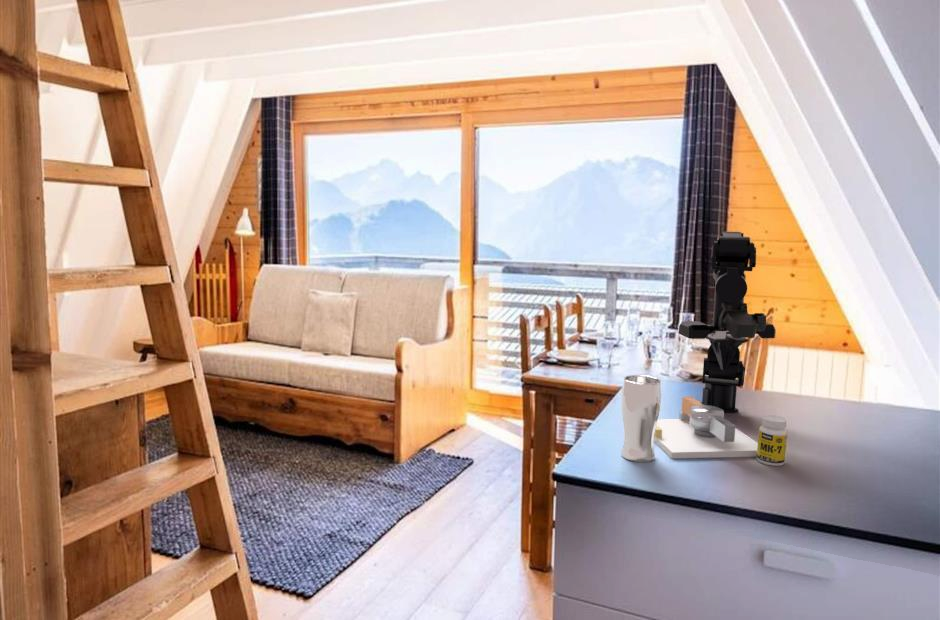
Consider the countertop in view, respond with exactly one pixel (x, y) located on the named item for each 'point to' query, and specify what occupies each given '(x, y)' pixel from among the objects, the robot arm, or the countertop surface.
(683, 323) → the robot arm
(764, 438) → the supplement bottle
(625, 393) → the beer glass
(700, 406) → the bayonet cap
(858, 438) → the countertop surface
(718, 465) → the countertop surface
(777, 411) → the countertop surface
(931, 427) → the countertop surface
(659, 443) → the coupling board
